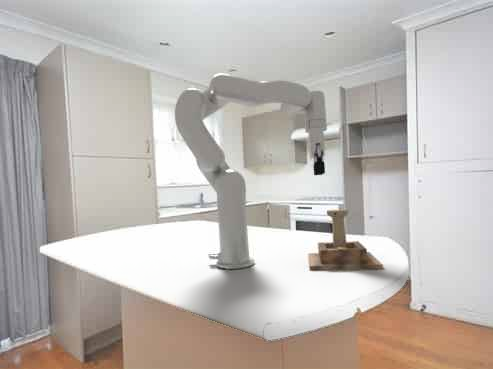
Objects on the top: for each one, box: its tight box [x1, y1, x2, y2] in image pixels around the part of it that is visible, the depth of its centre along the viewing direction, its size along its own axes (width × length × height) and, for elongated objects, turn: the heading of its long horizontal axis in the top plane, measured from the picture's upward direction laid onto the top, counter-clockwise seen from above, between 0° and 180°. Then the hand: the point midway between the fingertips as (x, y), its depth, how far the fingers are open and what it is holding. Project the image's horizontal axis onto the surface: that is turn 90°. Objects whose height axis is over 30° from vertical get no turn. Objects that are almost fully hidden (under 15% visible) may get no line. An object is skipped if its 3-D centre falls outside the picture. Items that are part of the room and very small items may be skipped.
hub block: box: [307, 240, 384, 271], centre depth 90 cm, size 20×16×6 cm
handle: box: [326, 209, 349, 249], centre depth 90 cm, size 5×6×15 cm
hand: (319, 174), depth 103 cm, fingers open, 9 cm apart
